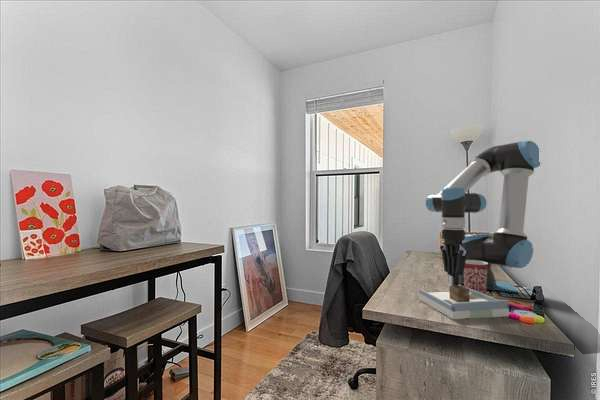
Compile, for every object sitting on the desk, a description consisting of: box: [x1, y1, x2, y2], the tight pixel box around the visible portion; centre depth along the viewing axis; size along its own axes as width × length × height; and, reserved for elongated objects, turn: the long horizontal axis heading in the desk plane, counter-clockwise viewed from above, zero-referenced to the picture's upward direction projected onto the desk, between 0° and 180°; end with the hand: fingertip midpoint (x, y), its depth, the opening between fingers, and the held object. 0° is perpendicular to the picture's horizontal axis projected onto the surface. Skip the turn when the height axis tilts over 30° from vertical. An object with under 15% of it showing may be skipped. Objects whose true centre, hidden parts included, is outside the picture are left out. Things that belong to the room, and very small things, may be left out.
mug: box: [463, 260, 488, 295], centre depth 120 cm, size 13×9×14 cm
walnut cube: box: [448, 284, 470, 302], centre depth 105 cm, size 4×4×4 cm
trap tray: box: [418, 287, 510, 320], centre depth 104 cm, size 20×20×5 cm
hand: (453, 293), depth 108 cm, fingers closed
